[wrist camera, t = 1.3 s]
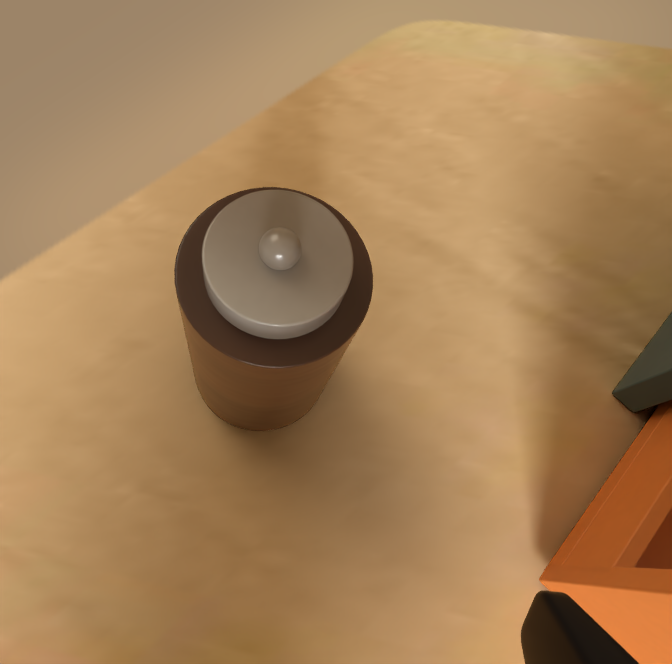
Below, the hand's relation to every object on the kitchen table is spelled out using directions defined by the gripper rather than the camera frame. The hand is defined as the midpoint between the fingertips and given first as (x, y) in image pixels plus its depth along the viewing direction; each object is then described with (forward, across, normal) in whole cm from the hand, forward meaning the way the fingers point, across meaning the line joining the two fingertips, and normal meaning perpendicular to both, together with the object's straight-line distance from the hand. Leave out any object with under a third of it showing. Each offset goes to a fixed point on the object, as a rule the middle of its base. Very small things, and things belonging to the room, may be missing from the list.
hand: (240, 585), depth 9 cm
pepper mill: (+14, 0, +4) cm, 15 cm away
